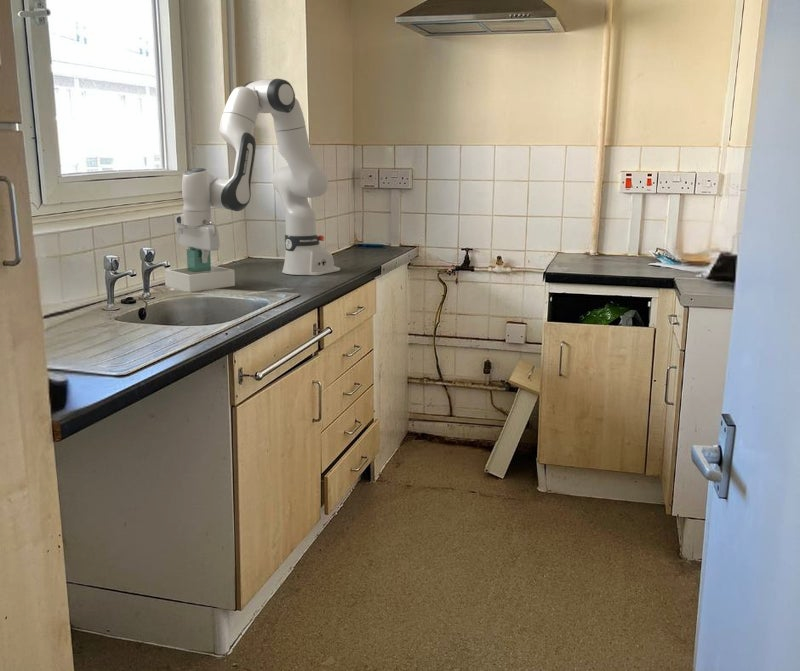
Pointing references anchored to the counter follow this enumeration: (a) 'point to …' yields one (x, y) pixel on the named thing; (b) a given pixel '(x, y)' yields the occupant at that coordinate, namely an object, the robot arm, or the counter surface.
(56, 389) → the counter surface
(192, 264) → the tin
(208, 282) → the tote
